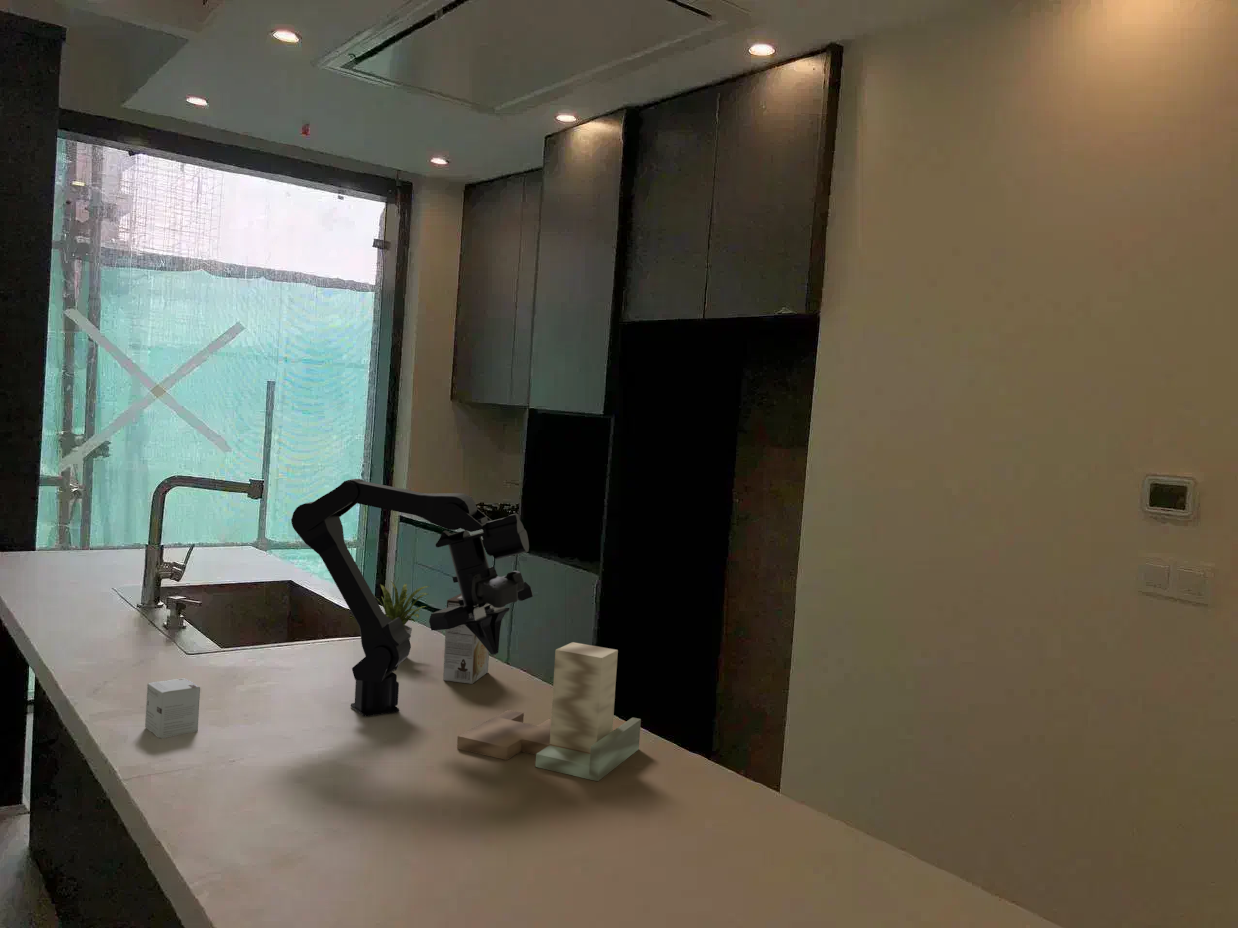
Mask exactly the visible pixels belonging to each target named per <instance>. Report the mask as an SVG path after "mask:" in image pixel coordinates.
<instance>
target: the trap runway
mask: <svg viewBox="0 0 1238 928" xmlns="http://www.w3.org/2000/svg"><path fill="white" fill-rule="evenodd" d="M524 713H525V712H521V711H517V710H511V709H507V710H506V711H503V712H502V713H500V714H497V715H495V716H493V717H492V718H490V719H488V720H486V721H484V722H482V723H479V724H478V725H476V726H475V727H473V728H471V729H469V730H467V731H464V732H462V733H460V734H459V735H458V736H457V744H456V749H457V750H460V751H465V752H471V753H474V754H475V753H476V754H479V755H483V756H488V757H492V758H497V759H500V760H501V759H502V760H504V761H508V760H509V759H511V758H513V757H515V756H516V755H518V754H520V752H523V753H526V754H532V755H535V764H534V765H535V766H534V767H536V768H539V769H544V770H547V771H548V770H549V771H552V772H557V773H559V774H560V773H561V774H564V775H569V776H574V777H577V778H582V779H587V780H591V781H595V782H600V780H602V779H603V778H604V777H606V776H607V775H608V774H609V773H611V772H612V771H613V770H614V769H616V768H617V767H618V766H619V765H621V764H622V763H623V762H625V761H626V760H627V759H628V758H630V757H631V756H632V755H633V754H635V753H636V752H637V751H639V750H640V740H641V724H642V719H641V718H637V717H631V718H629V719H628V720H627V721H625V722H624V723H622V724H620V726H618V727H616V728H615V729H614V730H613V731H612V732H611V733H609V734H608V735H606V736H605V737H603V738H602V739H601V740H599V741H598V742H596V743H595V744H593V745H592V746H591V753H588V752H584V751H579V750H575V749H570V748H566V747H561V746H557V745H552V744H550V731H551V718H548V719H546V720H544V721H543V722H541V723H538V724H537V725H536V724H533V723H532V724H531V723H526V722H524V719H525V718H524V715H525V714H524Z"/></svg>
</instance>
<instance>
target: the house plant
mask: <svg viewBox="0 0 1238 928" xmlns="http://www.w3.org/2000/svg"><path fill="white" fill-rule="evenodd" d="M390 582H391V585H392V586H393V589H394V598H395V600H394V602H395V603H394V604H393V600H392V594H391V593H390V592H389V591H388V590H387V589H386V587H385V586H384V585H383V584H379V585H380V588H381V590H382V593H383V596H382V595H381V599H382V602H383V604H382V602H381V601H380V600H378V603H380V604H381V606H382V608H383V609H384V614H385V615H386V616H387V617H389V618H390V619H391V620H392V621H393V620H394V619H396V618H398V617H400V619H401V621H402V623H403V626H404V628H405V630H406V631H407V633H409V634H410V635H411V636H412V631H413V627H412V626H409V625H407V623H408V622H409V621H410V622H414V623H416V622H415V621H416V620H415V619H414V618H412V617H413V616H414V617H416V618H419V617H420V615H419V614H420V610H421V609H422V608H425V607H427V606H426V605H425V606H420V607H418V608H416V609H414V608H413V607H414V605H415V604H416V602H418V600H420V599H421V598H422V597H423V596H427V595H430V594H429V592H421V590H423V589H426V588H429V587H430V585H427V586H426V585H425V586H421V587H419V588H417V589H416V590H415V591H413V592H412V593H411V594H409V593H407V592H408V587H407V585H408V584H407V583H404V584H403V586H402V589H401V592H400V594H399V591H398V589H397V587H396V585H395V584H394V582H393V581H392V580H391V579H390ZM419 592H420V593H419ZM417 593H418V594H417ZM408 595H409V596H408ZM415 595H416V596H415ZM417 596H418V597H417ZM415 598H416V599H415ZM414 599H415V600H414ZM405 601H406V602H405ZM410 604H411V605H410ZM408 607H409V608H408ZM412 611H413V612H412ZM410 612H411V614H409V613H410ZM416 612H418V613H416ZM408 614H409V615H408ZM408 639H409V641H410V640H411V637H410V638H408Z"/></svg>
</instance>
